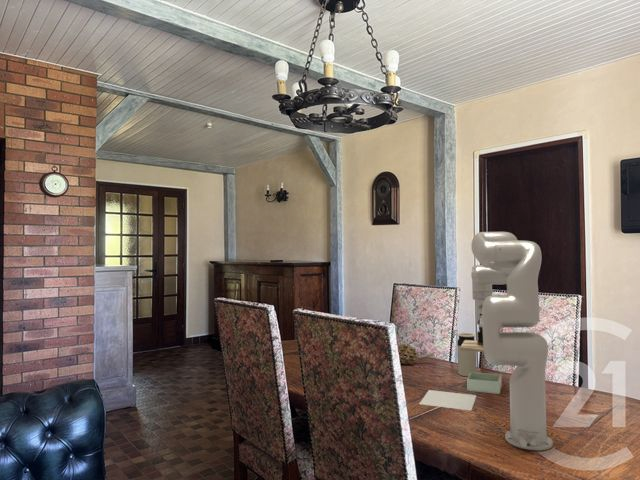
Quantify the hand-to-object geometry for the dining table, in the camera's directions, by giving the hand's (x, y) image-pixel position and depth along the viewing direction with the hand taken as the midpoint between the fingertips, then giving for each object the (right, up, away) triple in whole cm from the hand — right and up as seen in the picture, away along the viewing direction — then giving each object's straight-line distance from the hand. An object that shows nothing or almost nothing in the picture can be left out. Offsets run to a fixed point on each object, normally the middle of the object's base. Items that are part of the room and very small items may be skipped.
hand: (483, 341), depth 184 cm
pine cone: (-20, -21, +42) cm, 51 cm away
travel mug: (0, -20, +22) cm, 30 cm away
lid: (0, -3, 0) cm, 3 cm away
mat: (-18, -19, -14) cm, 30 cm away
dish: (0, -19, 0) cm, 19 cm away
